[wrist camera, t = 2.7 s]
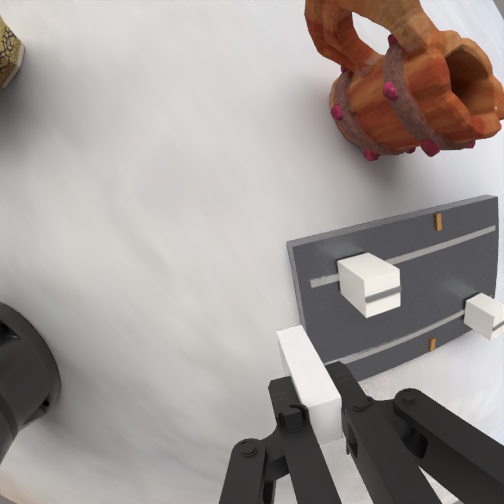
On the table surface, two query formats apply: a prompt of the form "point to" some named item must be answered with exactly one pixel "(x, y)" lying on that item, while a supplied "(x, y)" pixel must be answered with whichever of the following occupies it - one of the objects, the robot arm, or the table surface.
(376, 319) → the console
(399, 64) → the mug
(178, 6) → the table surface
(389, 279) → the fader near
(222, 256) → the table surface
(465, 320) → the fader far
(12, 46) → the ceramic cup
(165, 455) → the table surface
